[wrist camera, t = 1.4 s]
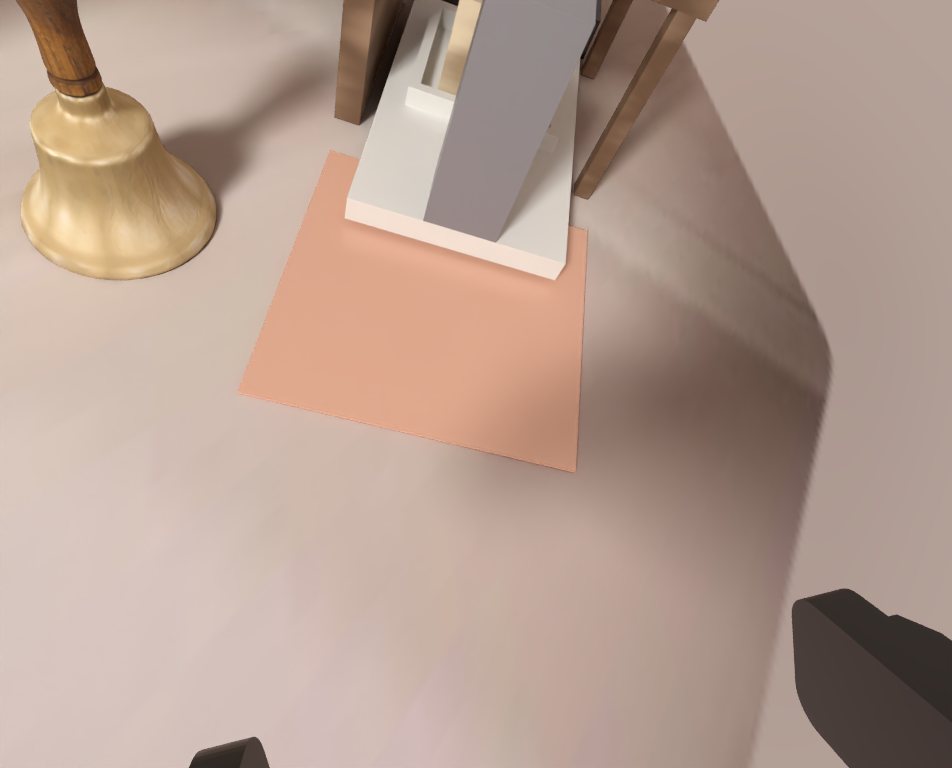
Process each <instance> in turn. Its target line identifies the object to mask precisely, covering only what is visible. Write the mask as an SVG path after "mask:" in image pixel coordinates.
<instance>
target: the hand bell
mask: <svg viewBox="0 0 952 768" xmlns="http://www.w3.org/2000/svg"><path fill="white" fill-rule="evenodd" d="M16 1H17V3H18V4H19V5H20V7H21V8H22V10H23V12H24V13H25V15H26V17H27V19H28V21H29V23H30V25H31V28H32V30H33V32H34V35H35V38H36V41H37V44H38V47H39V50H40V53H41V56H42V59H43V62H44V64H45V67H46V68H47V74H48V78H49V80H50V82H51V84H52V85H53V87H54V88H55V92H53V93H51V94H49V95H47V96H46V97H44V98H43V99H42V100H41V101H40V102H39V103H38V104H37V105H36V107H35V108H34V110H33V112H32V114H31V118H30V131H31V135H32V138H33V141H34V144H35V148H36V152H37V156H38V160H39V170H38V171H37V172H36V173H35V174H34V175H33V177H32V178H31V179H30V181H29V183H28V185H27V187H26V188H25V191H24V193H23V197H22V202H21V211H20V212H21V221H22V226H23V229H24V231H25V233H26V235H27V237H28V239H29V240H30V242H31V243H32V244H33V245H34V247H35V248H36V249H37V250H38V251H39V252H40V253H41V254H42V255H43V256H45V257H46V258H47V259H49V260H50V261H51V262H53V263H55V264H56V265H58V266H60V267H62V268H64V269H67V270H69V271H71V272H74V273H77V274H80V275H84V276H88V277H93V278H99V279H108V280H131V279H140V278H145V277H149V276H153V275H158V274H161V273H164V272H167V271H170V270H172V269H174V268H176V267H178V266H180V265H181V264H183V263H185V262H186V261H188V260H189V259H190V258H192V257H193V256H195V255H196V254H197V253H198V252H199V251H200V250H201V249H202V248H203V247H204V246H205V244H206V243H207V242H208V240H209V239H210V237H211V235H212V233H213V230H214V226H215V223H216V204H215V200H214V196H213V194H212V192H211V190H210V188H209V186H208V185H207V183H206V182H205V181H204V180H203V178H202V177H201V176H200V175H199V174H198V173H197V172H196V171H195V170H194V169H193V168H192V167H191V166H189V165H188V164H187V163H185V162H184V161H183V160H181V159H179V158H178V157H176V156H174V155H172V154H170V153H168V152H167V151H166V150H165V148H164V146H163V144H162V142H161V140H160V138H159V136H158V133H157V131H156V129H155V126H154V123H153V121H152V118H151V116H150V115H149V113H148V111H147V110H146V109H145V108H144V107H143V106H142V105H141V104H140V103H139V102H138V101H137V100H135V99H134V98H133V97H131V96H129V95H127V94H125V93H123V92H120V91H118V90H115V89H112V88H108V87H105V86H104V84H103V82H102V78H101V75H100V73H99V71H98V69H97V67H96V65H95V61H94V58H93V55H92V53H91V50H90V47H89V45H88V42H87V40H86V37H85V34H84V32H83V29H82V26H81V23H80V19H79V15H78V9H77V0H16Z"/></svg>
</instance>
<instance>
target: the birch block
mask: <svg viewBox="0 0 952 768" xmlns="http://www.w3.org/2000/svg"><path fill="white" fill-rule="evenodd" d="M481 4H482V0H459V4H458V8H457V12H456V17H455V21H454V25H453V29H452V33H451V37H450V41H449V45H448V49H447V53H446V57H445V61H444V65H443V69H442V74H441V78H440V82H439V86H438V90H441V91H444V92H447V93H450V94H453V95H456V94H457V90H458V87H459V83H460V80H461V76H462V72H463V69H464V65H465V62H466V58H467V54H468V51H469V47H470V44H471V40H472V36H473V33H474V29H475V26H476V22H477V18H478V15H479V11H480V8H481Z"/></svg>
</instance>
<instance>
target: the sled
mask: <svg viewBox="0 0 952 768" xmlns="http://www.w3.org/2000/svg"><path fill="white" fill-rule="evenodd" d="M596 2H597V0H482V4H481V8H480V11H479V15H478V18H477V22H476V26H475V29H474V33H473V36H472V40H471V44H470V47H469V51H468V54H467V58H466V62H465V65H464V69H463V72H462V76H461V80H460V83H459V87H458V90H457V94H456V95H453V94H450V93H447V92H444V91H441V90H438V86H439V82H440V78H441V74H442V69H443V65H444V61H445V57H446V53H447V49H448V45H449V41H450V37H451V33H452V29H453V25H454V21H455V17H456V12H457V8H458V6H455V5H453V4H450V3H447V2H445V1H442V0H414V2H413V5H412V8H411V11H410V14H409V17H408V20H407V23H406V26H405V29H404V32H403V35H402V38H401V40H400V43H399V46H398V49H397V52H396V55H395V58H394V61H393V64H392V67H391V70H390V73H389V76H388V79H387V82H386V84H385V87H384V90H383V93H382V96H381V99H380V102H379V105H378V108H377V111H376V114H375V117H374V120H373V123H372V126H371V129H370V131H369V134H368V137H367V140H366V143H365V146H364V149H363V152H362V155H361V158H360V161H359V164H358V167H357V170H356V173H355V175H354V178H353V181H352V184H351V187H350V190H349V193H348V196H347V201H346V210H345V219H349V220H352V221H356V222H359V223H362V224H366V225H369V226H373V227H376V228H379V229H383V230H386V231H389V232H393V233H396V234H400V235H403V236H406V237H410V238H413V239H417V240H420V241H423V242H427V243H430V244H433V245H437V246H440V247H444V248H447V249H450V250H454V251H457V252H461V253H464V254H467V255H471V256H474V257H477V258H481V259H484V260H488V261H491V262H494V263H498V264H501V265H505V266H508V267H511V268H515V269H518V270H521V271H525V272H528V273H532V274H535V275H538V276H542V277H545V278H549V279H552V280H556V278H557V276H558V275H559V273H560V272H561V270H562V269H563V267H564V265H565V264H566V250H567V236H568V222H569V208H570V194H571V180H572V166H573V152H574V138H575V124H576V110H577V96H578V82H579V68H580V57H581V55H582V52H583V50H584V48H585V46H586V44H587V41H588V39H589V37H590V35H591V33H592V30H593V28H594V26H595V22H596Z"/></svg>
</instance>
